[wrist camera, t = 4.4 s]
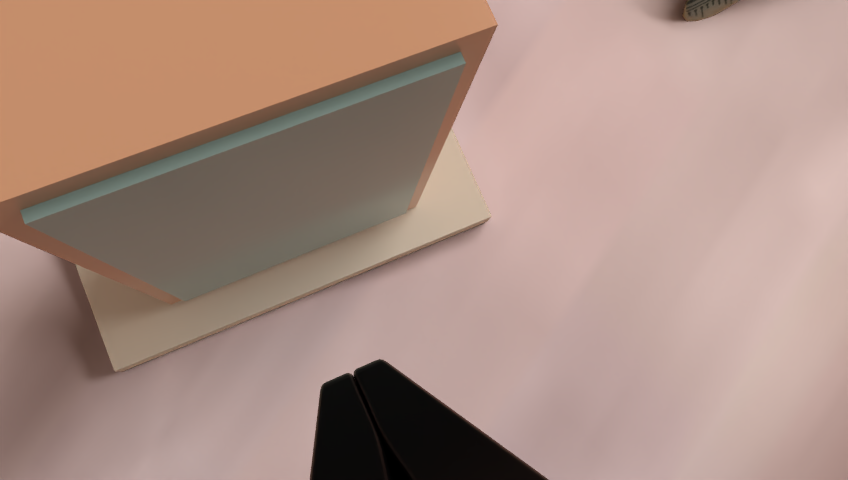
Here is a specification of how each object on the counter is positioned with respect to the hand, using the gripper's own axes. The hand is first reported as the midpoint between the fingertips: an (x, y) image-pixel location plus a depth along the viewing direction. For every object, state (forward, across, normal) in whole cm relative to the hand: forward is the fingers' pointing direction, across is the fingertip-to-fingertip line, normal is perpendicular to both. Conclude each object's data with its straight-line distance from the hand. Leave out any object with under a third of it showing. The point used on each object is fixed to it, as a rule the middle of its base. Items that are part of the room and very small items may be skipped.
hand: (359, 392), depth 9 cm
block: (+8, 0, +2) cm, 8 cm away
